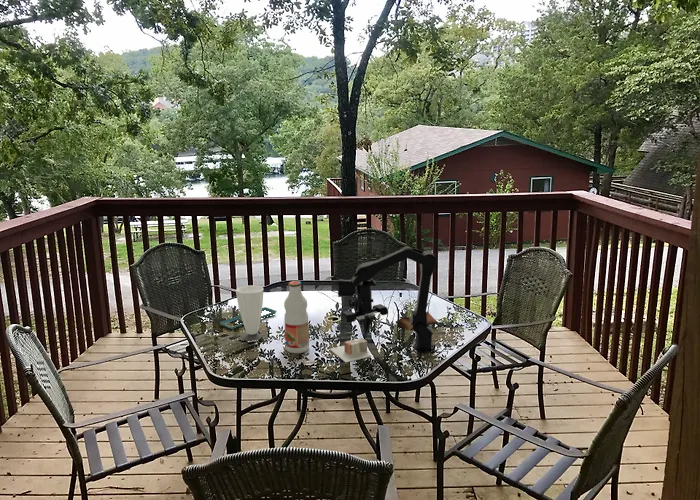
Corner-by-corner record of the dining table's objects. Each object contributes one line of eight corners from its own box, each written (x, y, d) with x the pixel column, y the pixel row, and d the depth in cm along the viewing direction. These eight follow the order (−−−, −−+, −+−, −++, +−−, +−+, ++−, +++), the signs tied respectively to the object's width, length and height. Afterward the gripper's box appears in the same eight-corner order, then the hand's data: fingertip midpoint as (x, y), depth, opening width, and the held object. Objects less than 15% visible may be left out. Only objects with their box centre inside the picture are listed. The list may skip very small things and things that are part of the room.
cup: (239, 344, 216) (236, 294, 211) (238, 334, 227) (234, 286, 222) (267, 340, 219) (265, 291, 214) (264, 331, 230) (262, 284, 225)
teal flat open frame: (231, 331, 231) (231, 326, 230) (219, 326, 237) (219, 321, 236) (277, 315, 250) (277, 310, 249) (265, 311, 256) (265, 306, 255)
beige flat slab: (371, 356, 202) (371, 355, 202) (345, 362, 197) (345, 362, 197) (353, 344, 214) (353, 343, 214) (329, 349, 209) (329, 348, 209)
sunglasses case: (409, 330, 227) (404, 316, 228) (400, 334, 232) (396, 320, 234) (440, 322, 236) (435, 308, 238) (431, 325, 242) (426, 312, 244)
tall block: (366, 341, 206) (349, 345, 202) (367, 350, 207) (349, 354, 203) (361, 337, 209) (344, 341, 206) (362, 347, 210) (344, 351, 207)
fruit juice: (309, 353, 206) (307, 285, 200) (285, 354, 205) (282, 286, 199) (309, 343, 215) (306, 278, 209) (286, 345, 214) (283, 279, 208)
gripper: (374, 287, 215) (374, 322, 218) (333, 294, 206) (334, 331, 210) (388, 294, 205) (388, 331, 209) (346, 302, 197) (347, 341, 200)
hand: (364, 333), depth 207 cm, fingers closed
